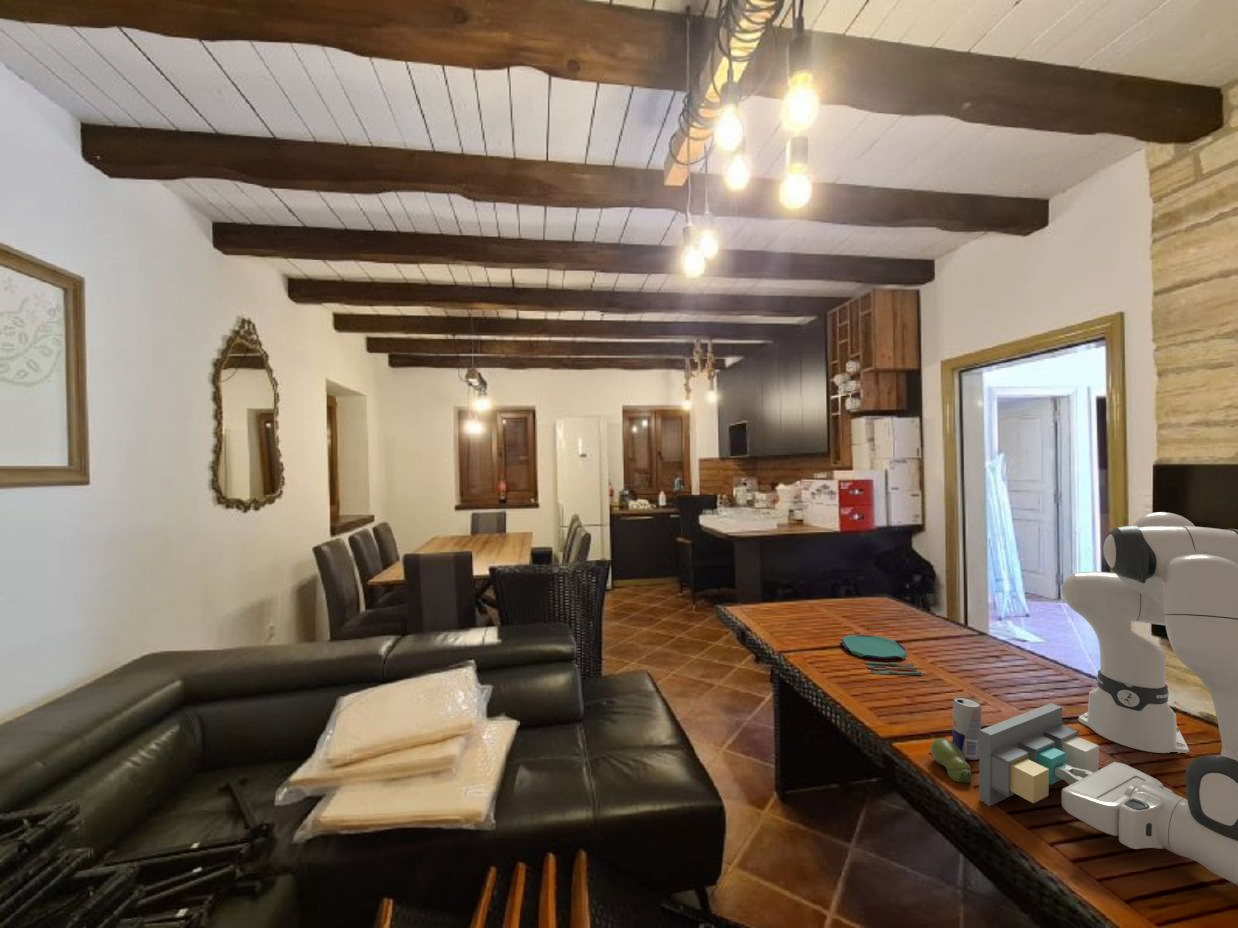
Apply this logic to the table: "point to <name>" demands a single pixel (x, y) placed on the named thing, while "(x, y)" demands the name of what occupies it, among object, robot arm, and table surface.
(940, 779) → the table surface
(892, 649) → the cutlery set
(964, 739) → the energy drink
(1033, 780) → the button mustard
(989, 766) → the control panel
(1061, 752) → the button teal
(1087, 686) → the table surface
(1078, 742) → the button cream
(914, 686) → the table surface
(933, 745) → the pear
